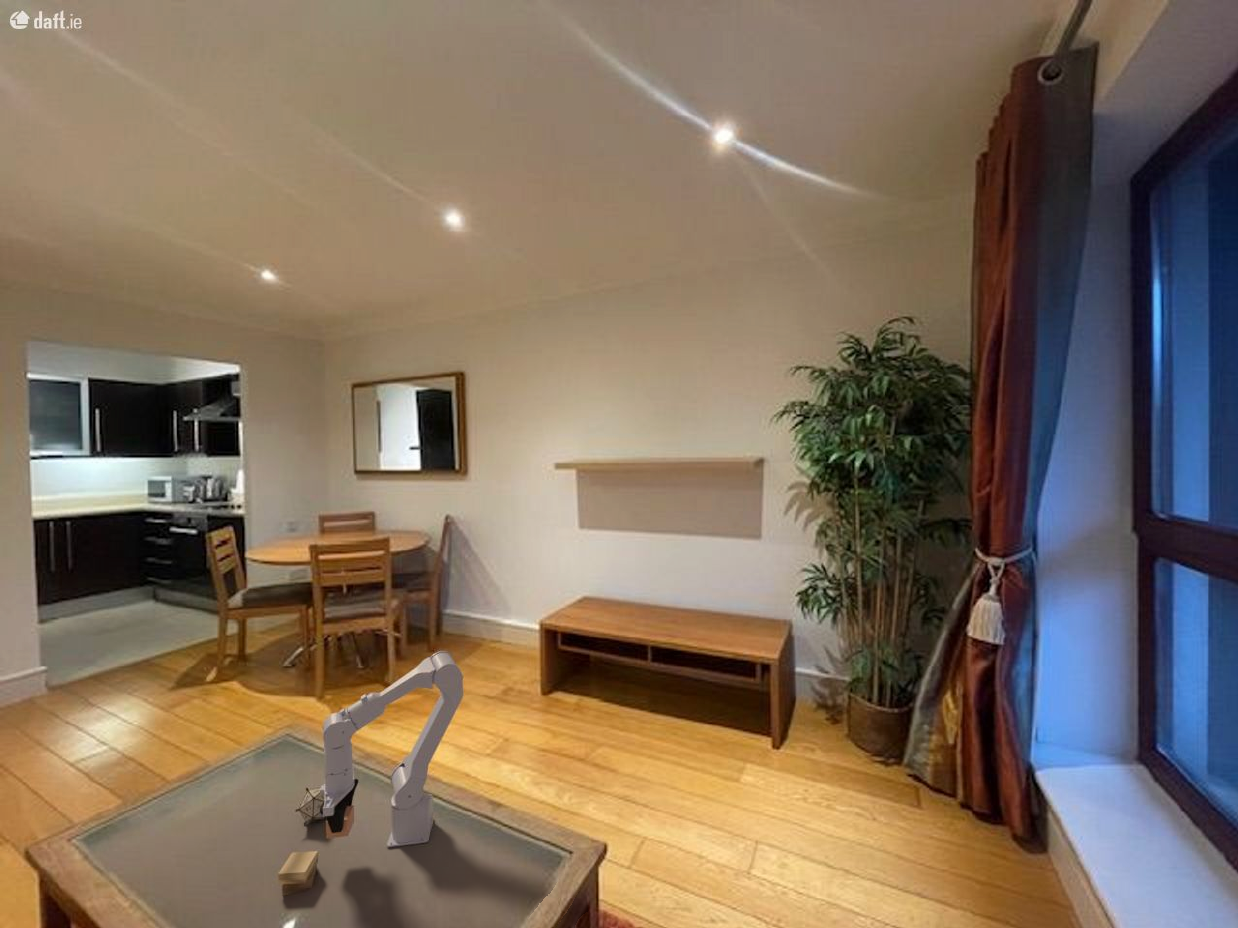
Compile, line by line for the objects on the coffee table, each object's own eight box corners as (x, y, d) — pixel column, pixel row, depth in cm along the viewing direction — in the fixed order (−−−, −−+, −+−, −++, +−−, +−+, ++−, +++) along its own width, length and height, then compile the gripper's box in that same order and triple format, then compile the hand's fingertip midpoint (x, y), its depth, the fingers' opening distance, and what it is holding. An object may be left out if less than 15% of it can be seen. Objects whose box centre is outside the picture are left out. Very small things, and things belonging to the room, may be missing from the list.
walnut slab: (316, 869, 118) (316, 858, 118) (311, 889, 113) (311, 878, 112) (288, 876, 116) (288, 865, 116) (282, 897, 111) (282, 886, 111)
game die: (319, 836, 131) (312, 824, 125) (292, 820, 133) (284, 807, 126) (346, 800, 138) (340, 786, 132) (320, 785, 140) (313, 771, 133)
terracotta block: (354, 821, 123) (353, 805, 123) (347, 835, 118) (347, 819, 118) (333, 823, 122) (333, 807, 122) (326, 838, 118) (325, 821, 117)
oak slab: (318, 861, 117) (317, 850, 117) (305, 882, 112) (305, 871, 111) (292, 862, 117) (292, 852, 116) (278, 884, 111) (278, 873, 111)
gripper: (331, 749, 126) (333, 802, 127) (306, 790, 111) (309, 850, 112) (362, 746, 127) (364, 799, 128) (341, 786, 113) (344, 845, 114)
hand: (341, 822), depth 120 cm, fingers closed on terracotta block, 4 cm apart
